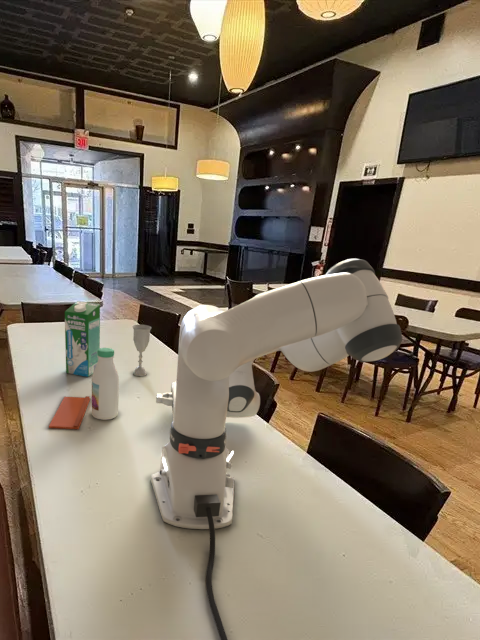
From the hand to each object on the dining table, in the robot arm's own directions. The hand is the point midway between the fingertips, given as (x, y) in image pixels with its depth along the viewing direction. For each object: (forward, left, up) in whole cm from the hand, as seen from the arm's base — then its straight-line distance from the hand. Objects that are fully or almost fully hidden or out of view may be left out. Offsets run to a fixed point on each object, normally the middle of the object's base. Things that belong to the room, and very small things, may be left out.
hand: (156, 398), depth 120 cm
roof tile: (0, +25, -6) cm, 25 cm away
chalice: (+36, +6, -6) cm, 37 cm away
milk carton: (+35, +27, -6) cm, 45 cm away
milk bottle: (0, +15, -6) cm, 16 cm away
